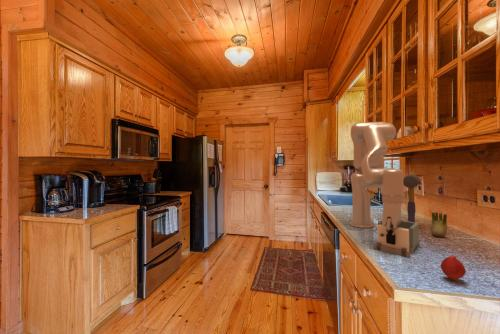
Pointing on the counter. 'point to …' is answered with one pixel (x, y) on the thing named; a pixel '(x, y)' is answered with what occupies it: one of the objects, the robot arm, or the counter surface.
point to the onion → (453, 268)
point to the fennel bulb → (439, 225)
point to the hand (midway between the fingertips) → (392, 241)
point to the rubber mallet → (411, 194)
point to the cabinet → (413, 240)
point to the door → (400, 237)
